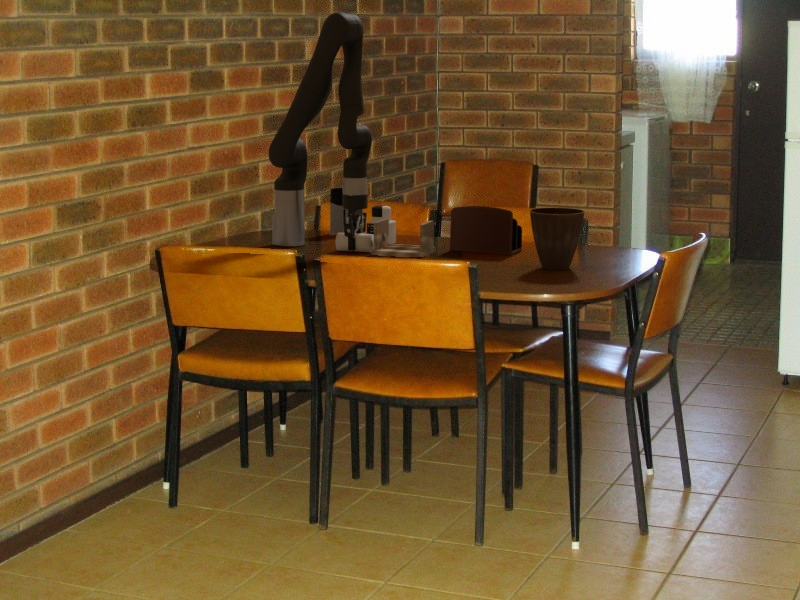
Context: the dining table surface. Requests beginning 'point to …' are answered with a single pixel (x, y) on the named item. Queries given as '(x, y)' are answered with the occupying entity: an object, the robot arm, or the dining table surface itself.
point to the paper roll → (362, 242)
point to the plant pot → (556, 235)
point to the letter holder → (484, 230)
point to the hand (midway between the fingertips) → (355, 248)
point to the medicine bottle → (380, 214)
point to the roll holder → (402, 250)
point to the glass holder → (337, 212)
